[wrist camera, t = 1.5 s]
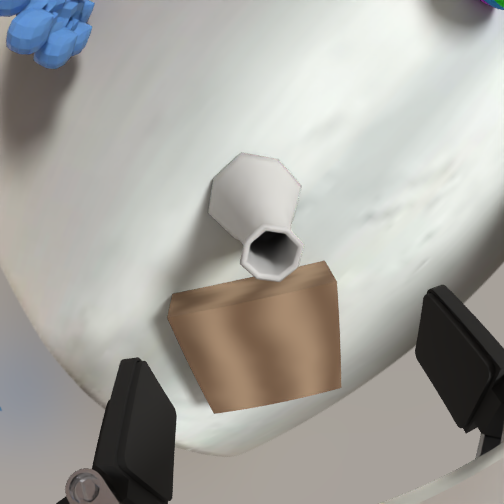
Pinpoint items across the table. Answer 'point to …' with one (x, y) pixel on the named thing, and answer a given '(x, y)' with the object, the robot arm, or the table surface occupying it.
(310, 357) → the flat wooden block
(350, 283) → the table surface
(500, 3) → the decorative egg
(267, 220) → the flask
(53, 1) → the grapes
